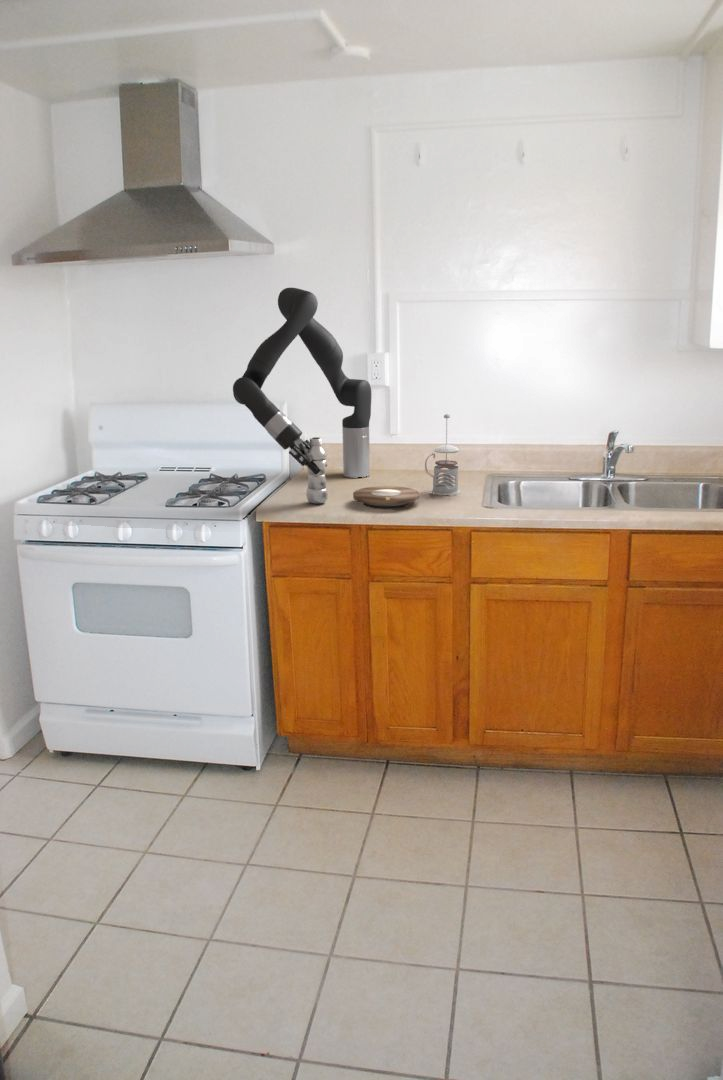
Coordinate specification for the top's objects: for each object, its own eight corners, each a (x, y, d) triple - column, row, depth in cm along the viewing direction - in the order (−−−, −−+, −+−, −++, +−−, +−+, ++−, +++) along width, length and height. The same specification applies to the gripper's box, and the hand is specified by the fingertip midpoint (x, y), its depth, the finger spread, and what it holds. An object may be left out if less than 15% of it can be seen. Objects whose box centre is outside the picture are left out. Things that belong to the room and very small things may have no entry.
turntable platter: (352, 490, 278) (352, 486, 278) (416, 489, 279) (416, 484, 279) (354, 505, 259) (353, 500, 259) (422, 504, 260) (422, 499, 259)
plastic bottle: (323, 499, 275) (322, 435, 270) (330, 504, 269) (329, 439, 264) (303, 501, 273) (301, 437, 267) (310, 506, 267) (308, 440, 261)
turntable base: (362, 498, 276) (362, 492, 276) (407, 497, 277) (407, 492, 276) (363, 509, 263) (363, 503, 262) (411, 508, 263) (411, 502, 263)
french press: (459, 496, 278) (461, 416, 271) (422, 494, 280) (423, 415, 273) (462, 489, 287) (464, 412, 280) (426, 488, 289) (427, 411, 282)
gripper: (283, 425, 259) (323, 466, 260) (298, 418, 273) (336, 457, 273) (267, 442, 262) (306, 483, 262) (282, 435, 275) (320, 473, 276)
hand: (321, 470), depth 268 cm, fingers closed on plastic bottle, 6 cm apart
